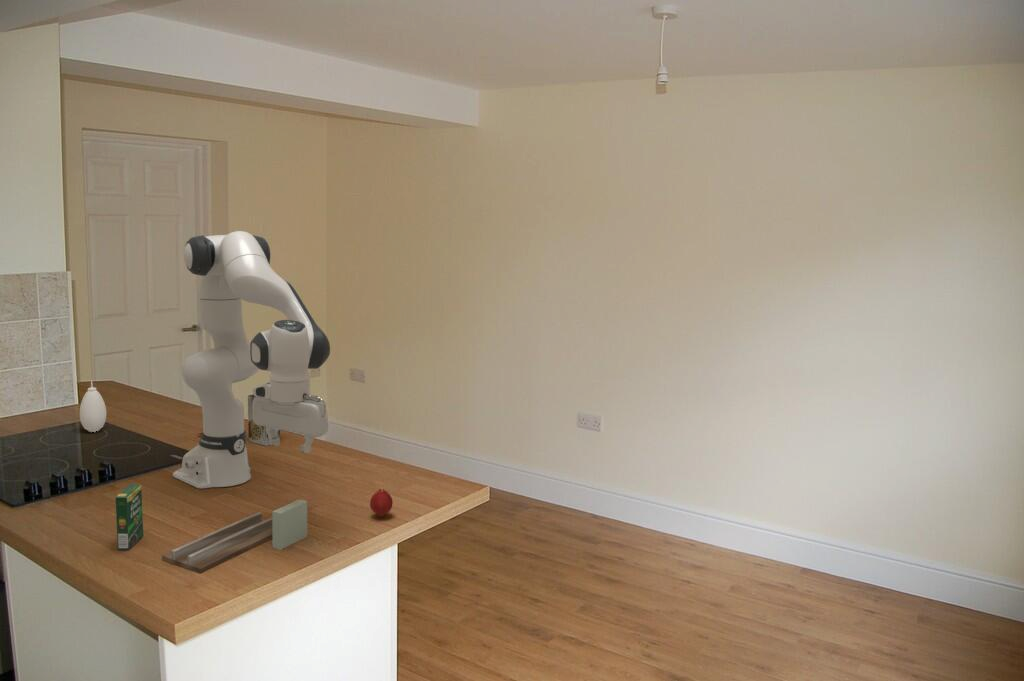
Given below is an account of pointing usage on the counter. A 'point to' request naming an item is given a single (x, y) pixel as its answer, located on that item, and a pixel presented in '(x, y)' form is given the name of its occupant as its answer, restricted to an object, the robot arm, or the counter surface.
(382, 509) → the onion
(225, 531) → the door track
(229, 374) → the robot arm
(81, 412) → the sauce bottle
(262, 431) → the coffee box
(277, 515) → the door panel
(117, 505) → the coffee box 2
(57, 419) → the counter surface
